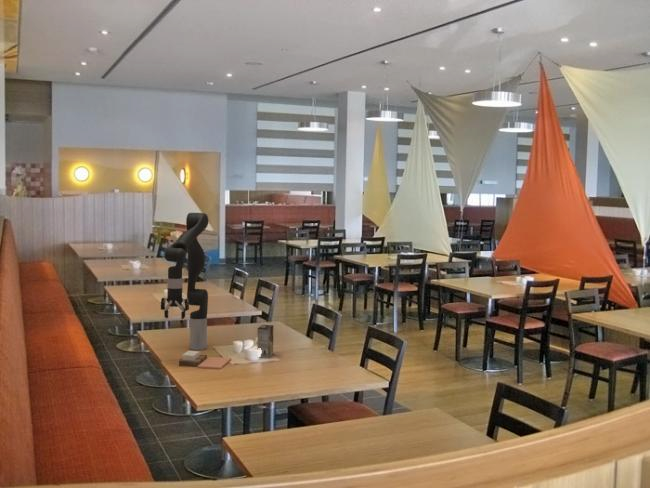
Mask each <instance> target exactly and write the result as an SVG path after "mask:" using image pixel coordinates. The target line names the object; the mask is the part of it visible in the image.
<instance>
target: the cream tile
mask: <svg viewBox="0 0 650 488" xmlns="http://www.w3.org/2000/svg"><path fill="white" fill-rule="evenodd" d="M200 352H201V350H187V351H186V352H184V353H183V354H182V358H181V359H182V360H195V359H196V358H198V357H199V356H200V355H201V353H200Z"/></svg>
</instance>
